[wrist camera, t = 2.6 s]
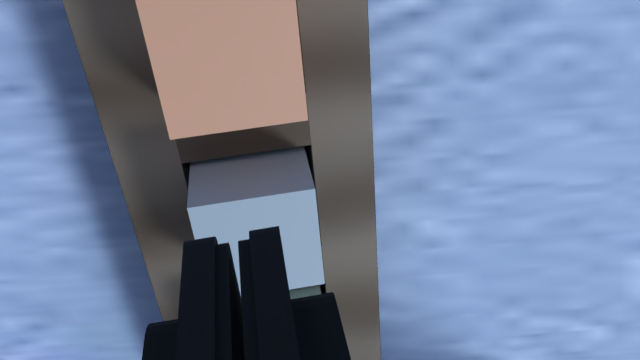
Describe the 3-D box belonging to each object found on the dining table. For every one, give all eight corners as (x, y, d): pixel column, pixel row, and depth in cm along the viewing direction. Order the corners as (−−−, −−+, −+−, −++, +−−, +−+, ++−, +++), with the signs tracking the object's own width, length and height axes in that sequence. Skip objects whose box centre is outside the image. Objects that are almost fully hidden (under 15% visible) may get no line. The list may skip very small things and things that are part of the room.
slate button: (190, 151, 26) (186, 208, 23) (301, 135, 27) (315, 188, 23) (210, 239, 29) (210, 302, 25) (311, 223, 30) (325, 283, 26)
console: (50, -117, 22) (28, -108, 19) (345, -148, 22) (362, -143, 20) (194, 372, 36) (192, 415, 34) (370, 342, 37) (381, 380, 34)
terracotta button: (148, -33, 22) (134, -1, 18) (280, -48, 23) (293, -20, 19) (176, 90, 25) (169, 139, 21) (294, 74, 25) (307, 120, 21)
